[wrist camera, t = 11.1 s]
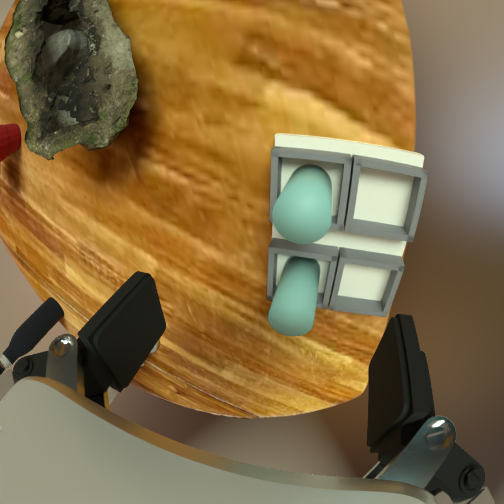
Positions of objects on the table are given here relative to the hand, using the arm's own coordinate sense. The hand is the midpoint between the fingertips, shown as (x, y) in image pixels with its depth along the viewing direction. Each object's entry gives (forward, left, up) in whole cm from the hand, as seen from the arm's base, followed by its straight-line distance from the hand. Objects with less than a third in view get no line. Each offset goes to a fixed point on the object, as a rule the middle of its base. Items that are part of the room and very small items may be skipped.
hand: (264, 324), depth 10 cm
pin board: (-4, -4, -19) cm, 20 cm away
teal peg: (0, 0, -18) cm, 18 cm away
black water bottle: (-35, +61, -19) cm, 73 cm away
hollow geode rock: (+17, +25, -20) cm, 36 cm away
